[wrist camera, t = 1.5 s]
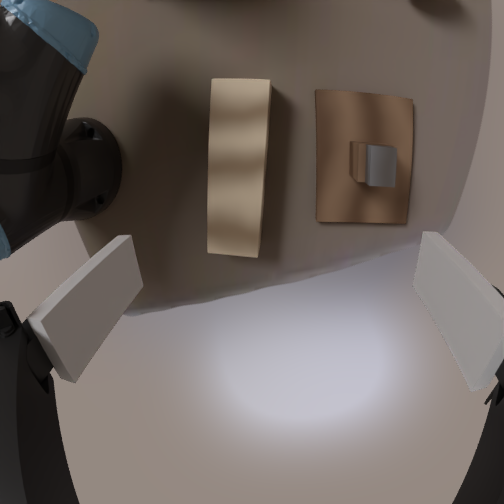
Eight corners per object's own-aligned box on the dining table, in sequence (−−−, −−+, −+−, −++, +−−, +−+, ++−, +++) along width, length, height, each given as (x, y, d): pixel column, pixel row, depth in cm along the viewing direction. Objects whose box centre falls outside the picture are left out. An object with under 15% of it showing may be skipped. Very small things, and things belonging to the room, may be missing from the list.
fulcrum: (315, 218, 36) (322, 241, 29) (314, 90, 29) (322, 82, 23) (402, 220, 35) (424, 242, 28) (408, 99, 28) (436, 96, 21)
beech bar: (261, 240, 39) (257, 257, 34) (216, 236, 39) (207, 252, 35) (271, 85, 30) (269, 79, 26) (221, 84, 30) (211, 78, 26)
